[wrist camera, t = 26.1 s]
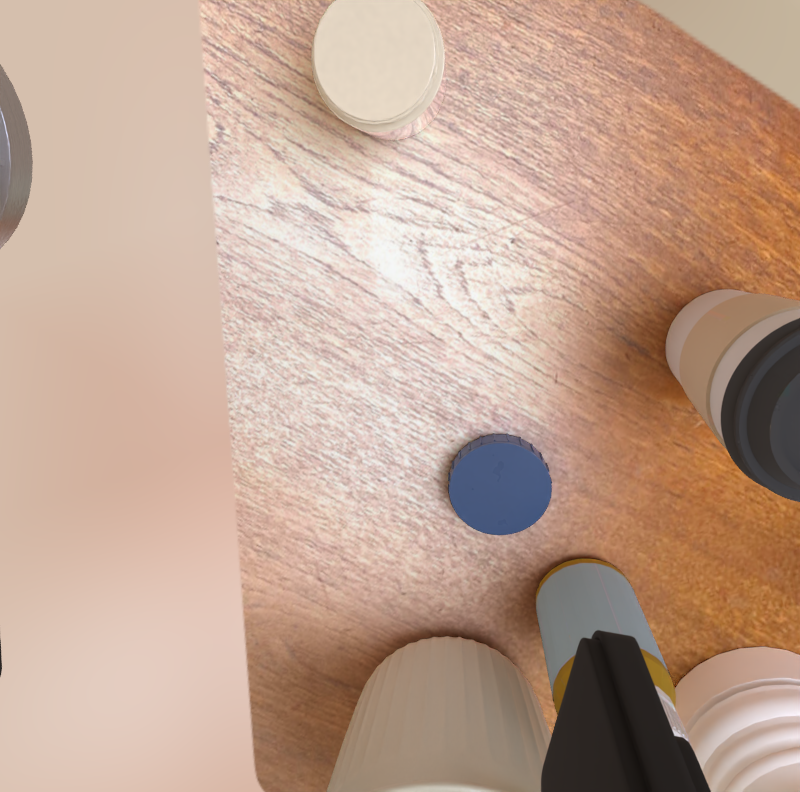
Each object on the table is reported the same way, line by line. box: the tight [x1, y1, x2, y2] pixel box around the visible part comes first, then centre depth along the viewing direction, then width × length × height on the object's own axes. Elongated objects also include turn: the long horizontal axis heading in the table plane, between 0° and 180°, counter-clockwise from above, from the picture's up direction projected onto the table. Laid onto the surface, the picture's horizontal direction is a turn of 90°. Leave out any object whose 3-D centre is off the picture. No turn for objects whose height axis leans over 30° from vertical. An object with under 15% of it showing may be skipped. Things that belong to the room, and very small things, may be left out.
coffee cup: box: [666, 289, 800, 502], centre depth 35 cm, size 9×9×15 cm
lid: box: [448, 434, 552, 535], centre depth 46 cm, size 7×7×2 cm
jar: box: [311, 0, 447, 140], centre depth 35 cm, size 6×6×10 cm
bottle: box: [536, 559, 693, 749], centre depth 42 cm, size 7×7×15 cm
